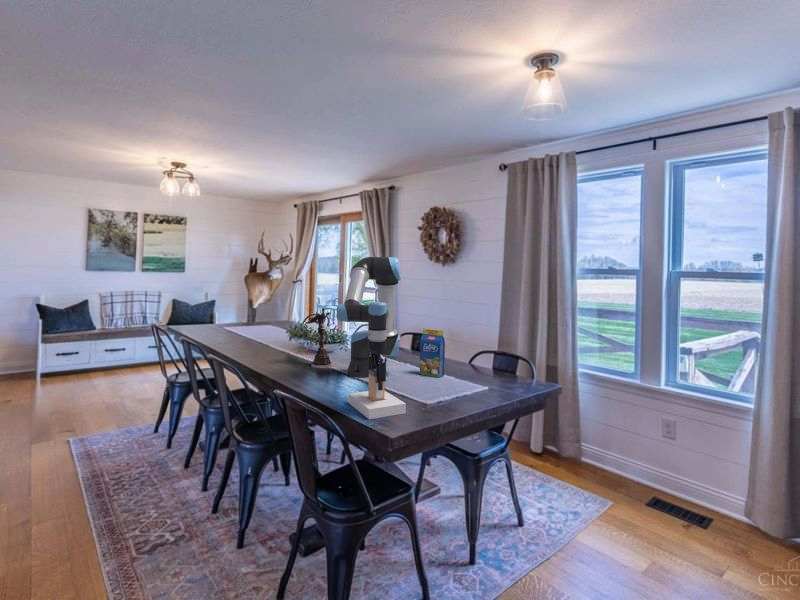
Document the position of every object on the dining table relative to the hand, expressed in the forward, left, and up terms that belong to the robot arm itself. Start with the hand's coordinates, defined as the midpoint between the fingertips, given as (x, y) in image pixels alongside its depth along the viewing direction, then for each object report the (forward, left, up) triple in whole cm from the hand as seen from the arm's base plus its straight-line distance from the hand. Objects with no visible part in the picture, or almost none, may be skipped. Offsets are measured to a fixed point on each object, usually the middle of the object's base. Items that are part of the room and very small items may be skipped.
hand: (376, 395), depth 174 cm
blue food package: (-36, +50, -5) cm, 62 cm away
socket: (0, 0, -5) cm, 5 cm away
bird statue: (-82, 0, -5) cm, 82 cm away
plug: (0, 0, -2) cm, 2 cm away
